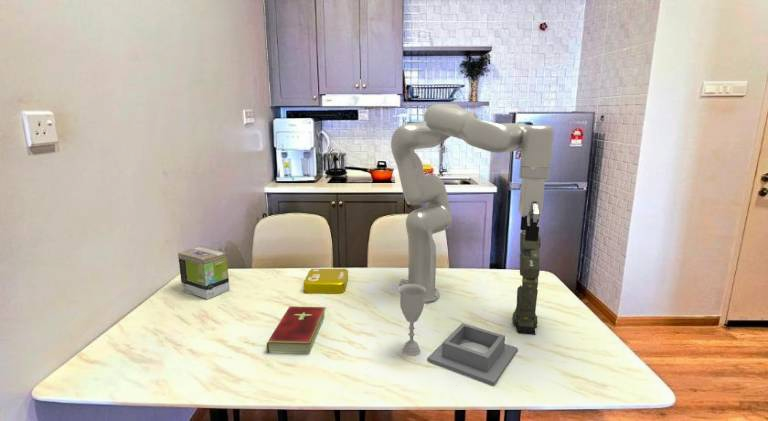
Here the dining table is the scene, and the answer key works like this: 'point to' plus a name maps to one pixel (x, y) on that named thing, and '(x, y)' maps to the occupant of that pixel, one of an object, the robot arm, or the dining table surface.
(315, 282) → the element tile
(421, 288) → the chalice
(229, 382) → the dining table surface
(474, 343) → the housing
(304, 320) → the hardcover book
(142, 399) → the dining table surface
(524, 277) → the mechanical leg
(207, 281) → the tea box
